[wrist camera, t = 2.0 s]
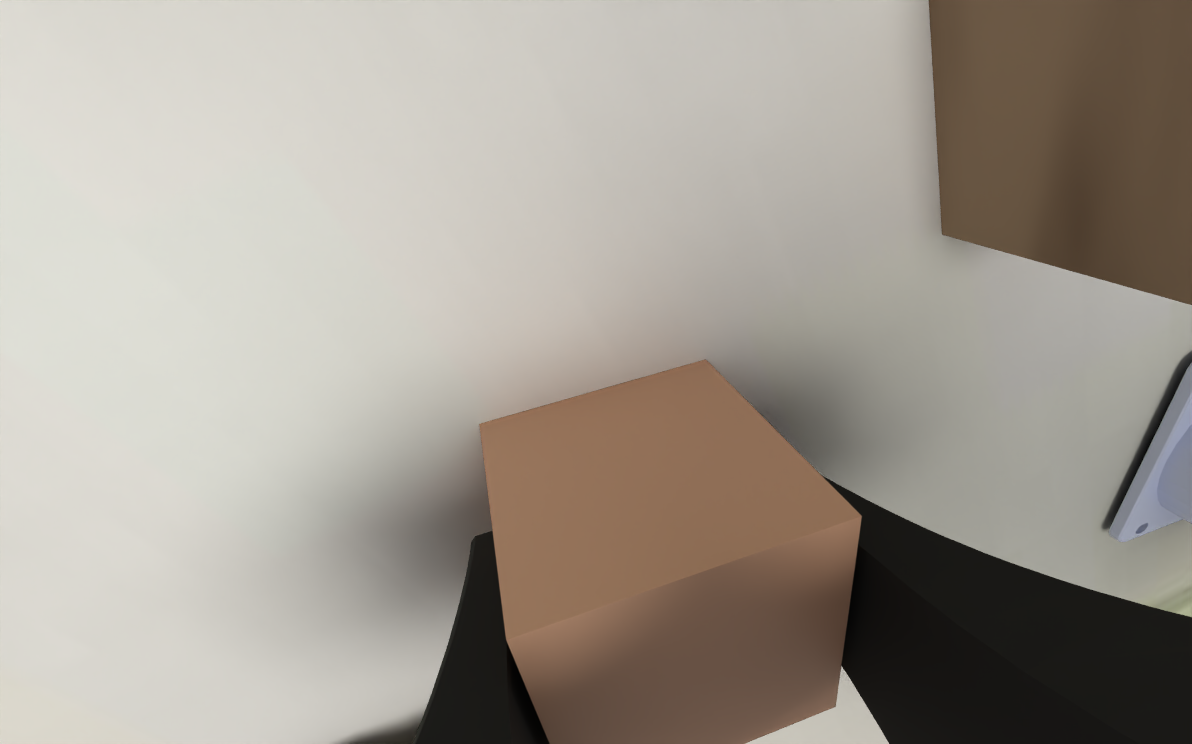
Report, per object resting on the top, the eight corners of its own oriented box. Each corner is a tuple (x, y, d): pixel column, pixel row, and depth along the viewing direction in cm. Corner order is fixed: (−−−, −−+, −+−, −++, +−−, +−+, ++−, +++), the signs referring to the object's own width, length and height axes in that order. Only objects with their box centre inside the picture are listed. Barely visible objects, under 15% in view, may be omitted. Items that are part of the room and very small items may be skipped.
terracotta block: (703, 357, 11) (862, 515, 7) (714, 518, 14) (835, 706, 10) (478, 421, 11) (506, 640, 6) (532, 579, 13) (577, 810, 9)
